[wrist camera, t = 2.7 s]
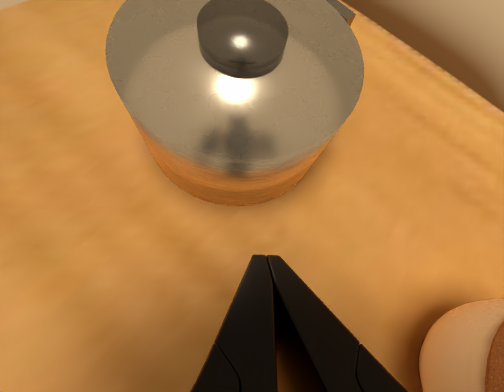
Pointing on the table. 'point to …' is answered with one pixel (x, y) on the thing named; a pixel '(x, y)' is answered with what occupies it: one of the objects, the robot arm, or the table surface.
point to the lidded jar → (465, 350)
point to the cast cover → (235, 89)
